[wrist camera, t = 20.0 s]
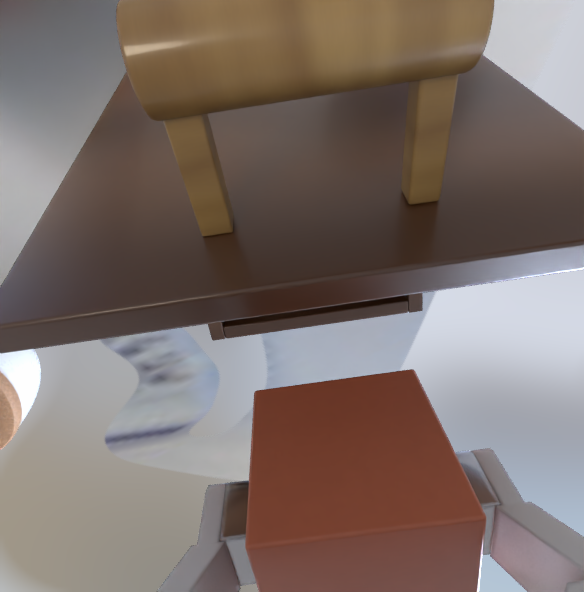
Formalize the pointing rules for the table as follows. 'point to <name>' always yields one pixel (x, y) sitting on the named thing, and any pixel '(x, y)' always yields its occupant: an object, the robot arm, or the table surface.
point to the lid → (297, 171)
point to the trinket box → (17, 390)
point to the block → (359, 491)
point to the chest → (316, 316)
